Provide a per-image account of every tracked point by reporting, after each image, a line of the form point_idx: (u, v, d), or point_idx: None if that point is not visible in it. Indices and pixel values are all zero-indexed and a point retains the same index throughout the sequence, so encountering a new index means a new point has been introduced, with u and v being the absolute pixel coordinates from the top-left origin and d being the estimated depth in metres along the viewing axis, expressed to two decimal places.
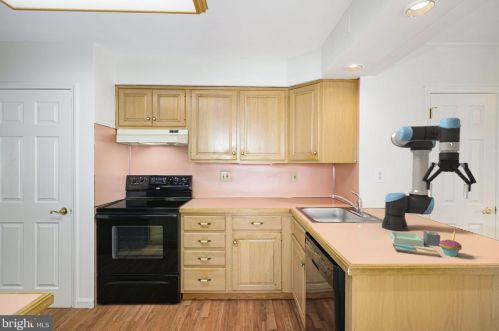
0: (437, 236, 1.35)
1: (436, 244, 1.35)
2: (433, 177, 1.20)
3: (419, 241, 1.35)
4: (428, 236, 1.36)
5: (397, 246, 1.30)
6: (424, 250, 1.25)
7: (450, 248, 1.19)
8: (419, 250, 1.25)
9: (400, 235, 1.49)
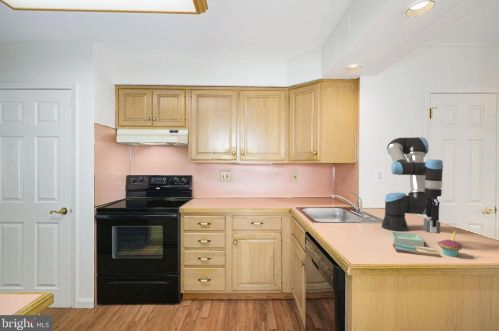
0: (437, 223, 1.35)
1: None
2: (427, 211, 1.42)
3: (419, 241, 1.35)
4: (428, 223, 1.37)
5: (397, 246, 1.30)
6: (424, 250, 1.25)
7: (450, 248, 1.19)
8: (419, 250, 1.25)
9: (400, 235, 1.49)
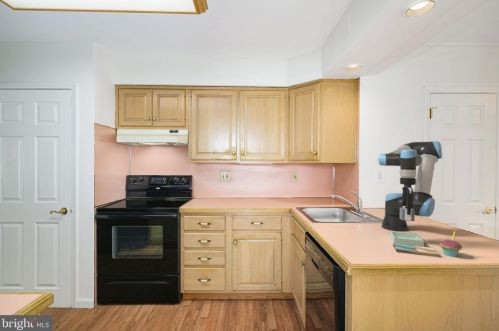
0: (412, 211, 1.39)
1: (411, 219, 1.39)
2: (403, 200, 1.46)
3: (419, 241, 1.35)
4: (403, 211, 1.40)
5: (397, 246, 1.30)
6: (424, 250, 1.25)
7: (450, 248, 1.19)
8: (419, 250, 1.25)
9: (400, 235, 1.49)
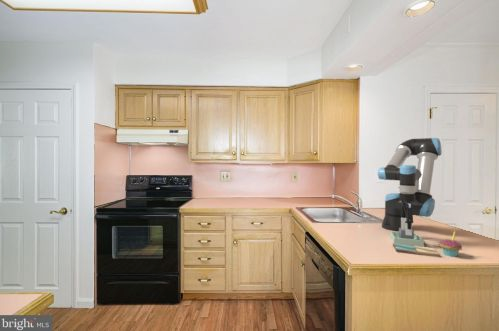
0: None
1: None
2: (402, 213, 1.48)
3: (419, 241, 1.35)
4: (402, 232, 1.40)
5: (397, 246, 1.30)
6: (424, 250, 1.25)
7: (450, 248, 1.19)
8: (419, 250, 1.25)
9: None
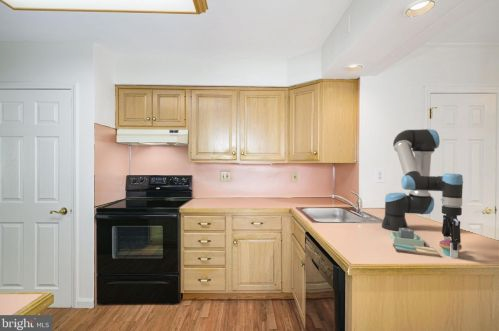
0: (411, 232, 1.39)
1: None
2: (444, 230, 1.27)
3: (419, 241, 1.35)
4: (402, 232, 1.40)
5: (397, 246, 1.30)
6: (424, 250, 1.25)
7: None
8: (419, 250, 1.25)
9: None
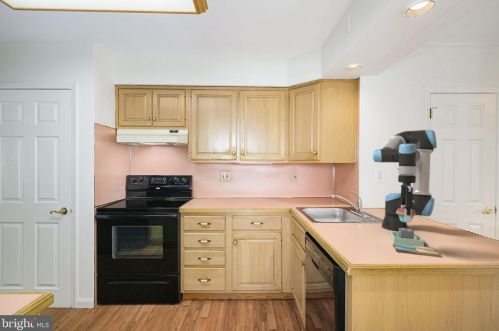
0: (411, 232, 1.39)
1: None
2: (401, 199, 1.33)
3: (419, 241, 1.35)
4: (402, 232, 1.40)
5: (397, 246, 1.30)
6: (424, 250, 1.25)
7: (404, 213, 1.26)
8: (419, 250, 1.25)
9: None
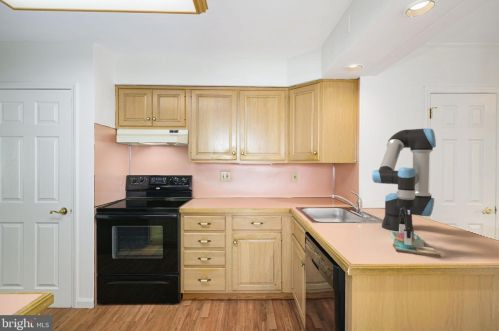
0: None
1: None
2: (400, 219, 1.35)
3: (419, 241, 1.35)
4: None
5: (397, 246, 1.30)
6: (424, 250, 1.25)
7: (403, 240, 1.26)
8: (419, 250, 1.25)
9: None
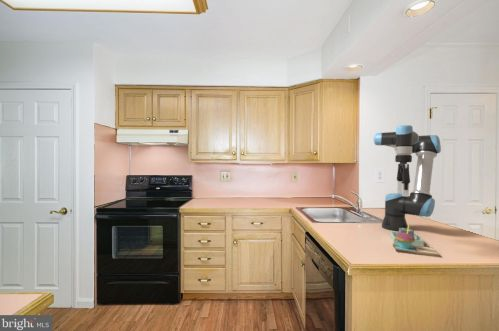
0: (411, 232, 1.39)
1: None
2: (398, 176, 1.43)
3: (419, 241, 1.35)
4: (402, 232, 1.40)
5: (397, 246, 1.30)
6: (424, 250, 1.25)
7: (403, 240, 1.26)
8: (419, 250, 1.25)
9: None
